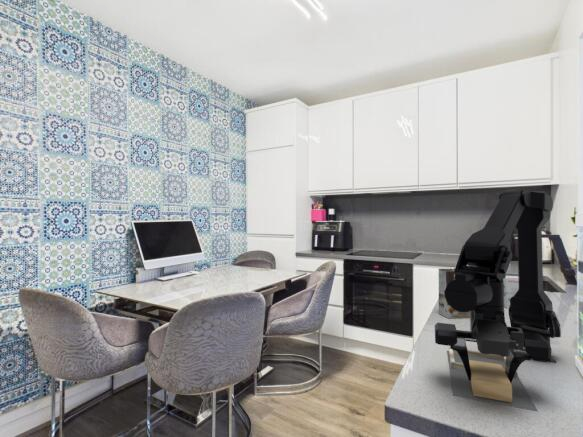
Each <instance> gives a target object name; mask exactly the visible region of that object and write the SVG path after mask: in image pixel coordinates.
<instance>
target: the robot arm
mask: <svg viewBox="0 0 583 437" xmlns="http://www.w3.org/2000/svg"><path fill="white" fill-rule="evenodd" d="M498 196H499V197H498V201H497V203H496V205H495V207H494V208H493V210H492V213H491V214H490V216H489V218H488V220H486V223H485V225H484V226H483V228H481V229H480V230H478V231H476V232H473V233H472V234H471V235H470V236H469V238H467V240H466V241H465V242H464V244H463V245H462V247H461V250H460V252H459V256H458V258H457V262H456V265H455V267H454V269H455V270H454V272H455V280H453V281H451V282H450V283H448V285H447V286H446V289H445V292H444V294H445V298H446V301H447V303H448V304H449V305H450V306H451V307H452V308H453V309H454V310H456V311H459V312H469V311H470V318H469V319H470V320H469V322H470V324H469V327H470V331H469V330H460V329H457V327H456V324H454V323H447V322H446V323H445V322H436V323H435V324H434V341H435V344H436V345H440V346H447V347H448V346H449V347H450V348H451V349H452V350H456V351H457V352H458V354H459V356H460V358H461V360H462V362H463V365H464V368H465V371H466V373H467V376H468V379H469V380H470V381H471V370H470V364H469V358H468V350H469V349H468V348H467V342H471V343H472V342H473V343H476V345H477V351H479V352H481V353H483V354H495V355H500V356H503V357H506V366H505V373H506V375H507V377H508V379H509V381H510V383H511V382H512V380H513V378H514V375H515V373H516V371H517V370H518V369H519V367H520V366H521V365H522V363H524V362H525V361H540V362H548V363H554V364H555V363H557V361H556V359H555V358H554V357H553V356H552V347H551V338H552V339H555V338H561V337H562V336H561V335H562V331H561V330H562V329H561V324H560V320H559V318H558V317H557V314H556V312H555V311H554V308H553V301H552V300H551V299H550V298H549V296H548V295H547V294H546V292H545V290H544V277H543V276H544V274H543V273H544V271H543V270H544V269H543V233H542V232H543V231H542V230H543V228H544V227H545V225H546V224H547V223H548V222H549V220H550V218H551V212H552V211H553V208H554V200H553V198H552V196H551V195H549V194H548V193H546V192H545V191H531V190H528V189H527V190H526V189H523V188H522V189H511V190H509V189H508V190H504V191H501V192H500V193H499V194H498ZM515 228H516V230H517V232H516V233H517V267H518V272H517V273H518V277H519V290H518V291H517V292H516V294H515V295H514V296H513V297H511V299H510V306H509V309H508V318H509V323H510V326H507V323H506V316H505V306H504V281H503V278H505V277H506V276H507V275H506V273H507V272H508V269H509V268H510V267H509V266H510V263H511V261H512V259H513V252H512V249H511V246H510V244H509V242H510V238H511V236H512V235H513V233H514V230H515ZM517 372H518V371H517Z"/></svg>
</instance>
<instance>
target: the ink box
mask: <svg viewBox="0 0 583 437" xmlns="http://www.w3.org/2000/svg"><path fill="white" fill-rule="evenodd" d="M503 281H504V308H506V310H509V306H510V299H511V297H513V296H514V295H515V294H516V292H517V291H518V290H519V277H518V276H517V275H506V277H505V278H503Z"/></svg>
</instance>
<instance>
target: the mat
mask: <svg viewBox="0 0 583 437" xmlns="http://www.w3.org/2000/svg"><path fill="white" fill-rule="evenodd" d="M446 355H447V360H448V362H447V363H448V369H449V376H450V382H451V389H452V390H451V391H452V395H453V396H454V397H457V398H458V397H459V398H462V399H463V398H465V399H469V400H475V401H480V402H485V403H492V404H496V405H500V406H506V407H510V408H511V407H513V408H518V409H522V410H527V411H528V410H529V411H533V412H539V410H538V409H537V407H536V405H535V403H534V401H533V399H532V398H531V396H530V394H529V392H528V390H527V389H526V388H525V386H524V383H523V382H522V380H521V379H520V377H519V375H518V374H517V378H513V380H512V382H511V385H512V403H511V402H506V401H500V400H495V399H490V398H484V397H479V396H474V394H473V391H472V387H471V383H470V380H469V379H468V376H467V373H466V371H465V370H459V369H453V368H451V363H450V357H449V350H446ZM468 358H469V360H474V361H481V362H488V363H495V364H501V365H502V367H503V369H505V366H506V364H505V362H504V361H500V360H492V359H485V358H478V357H471V356H468ZM454 360H455V362H459V363H463V362H462V360H461V358H460V356H459V355H457V354H454Z"/></svg>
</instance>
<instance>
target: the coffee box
mask: <svg viewBox="0 0 583 437" xmlns="http://www.w3.org/2000/svg"><path fill="white" fill-rule="evenodd" d="M454 270H455V268H438V314H440V315H441V316H443V317H444V318H447V319H470V311H469V312H459V311H456V310H454V309H453V308H452V307H451V306H450V305H449V304H448V303H447V301H446V298H445V294H444V292H445V289H446V286H447V285H448V283H450V282H451V281H453V280H455V272H454Z"/></svg>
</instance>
